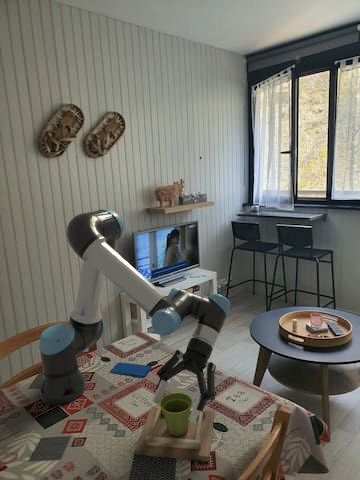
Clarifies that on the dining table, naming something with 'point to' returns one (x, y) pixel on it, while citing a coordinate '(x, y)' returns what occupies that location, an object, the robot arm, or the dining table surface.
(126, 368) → the smartphone
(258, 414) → the dining table surface
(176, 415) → the plant pot
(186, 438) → the pot stand
